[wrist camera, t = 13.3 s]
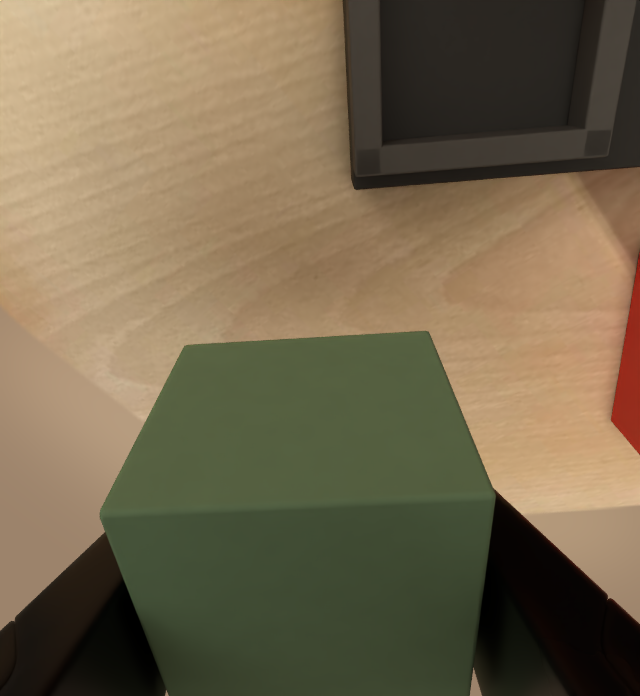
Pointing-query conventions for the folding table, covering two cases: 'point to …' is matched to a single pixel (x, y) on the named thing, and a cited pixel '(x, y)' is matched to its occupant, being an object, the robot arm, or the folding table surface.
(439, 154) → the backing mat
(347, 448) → the green block
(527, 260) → the folding table surface
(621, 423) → the red slab
